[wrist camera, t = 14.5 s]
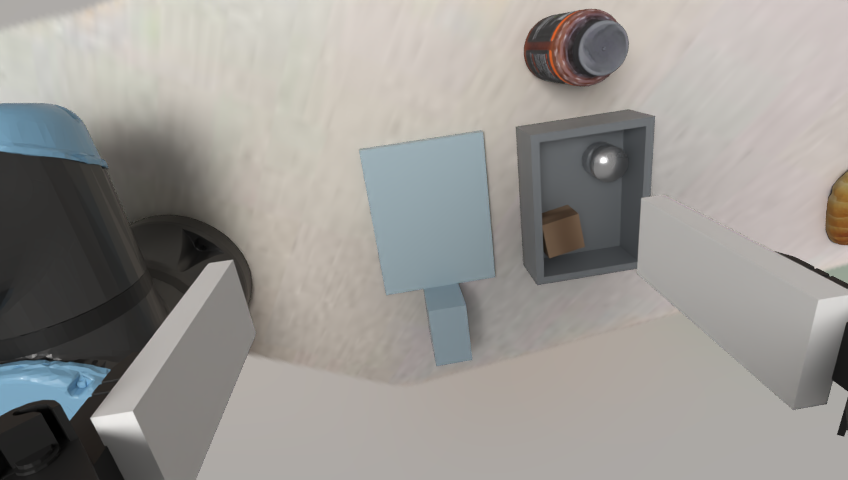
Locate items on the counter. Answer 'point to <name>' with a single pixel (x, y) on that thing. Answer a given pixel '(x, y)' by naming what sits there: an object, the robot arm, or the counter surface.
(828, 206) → the pastry
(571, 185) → the tub
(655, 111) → the counter surface
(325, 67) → the counter surface
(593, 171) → the ball
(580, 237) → the walnut block
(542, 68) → the supplement bottle
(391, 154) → the lid
